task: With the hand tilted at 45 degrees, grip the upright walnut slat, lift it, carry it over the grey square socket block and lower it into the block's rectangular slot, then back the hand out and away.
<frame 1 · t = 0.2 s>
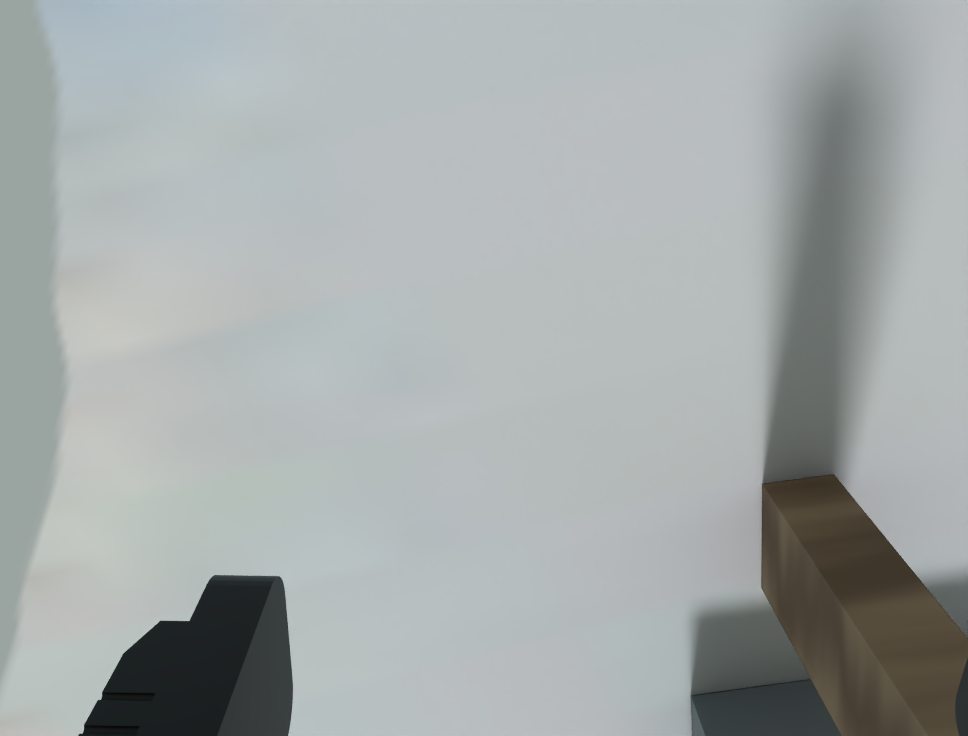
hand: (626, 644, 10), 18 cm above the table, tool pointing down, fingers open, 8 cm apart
slat: (796, 533, 31), on the table
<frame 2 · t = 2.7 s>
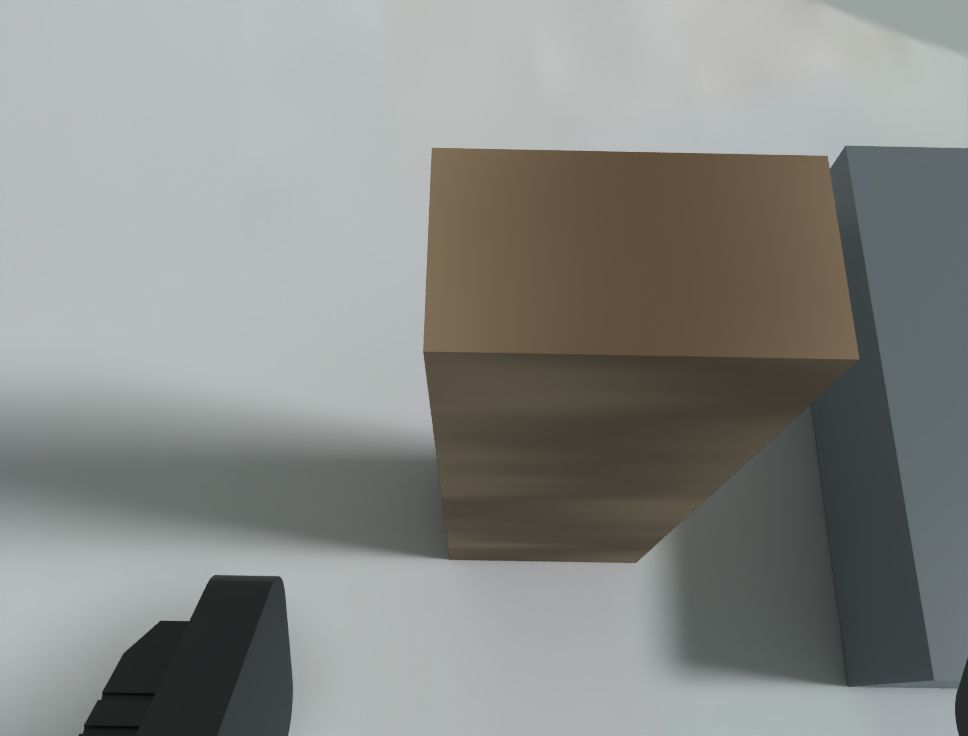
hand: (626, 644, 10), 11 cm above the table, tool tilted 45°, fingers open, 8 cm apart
slat: (542, 509, 22), on the table
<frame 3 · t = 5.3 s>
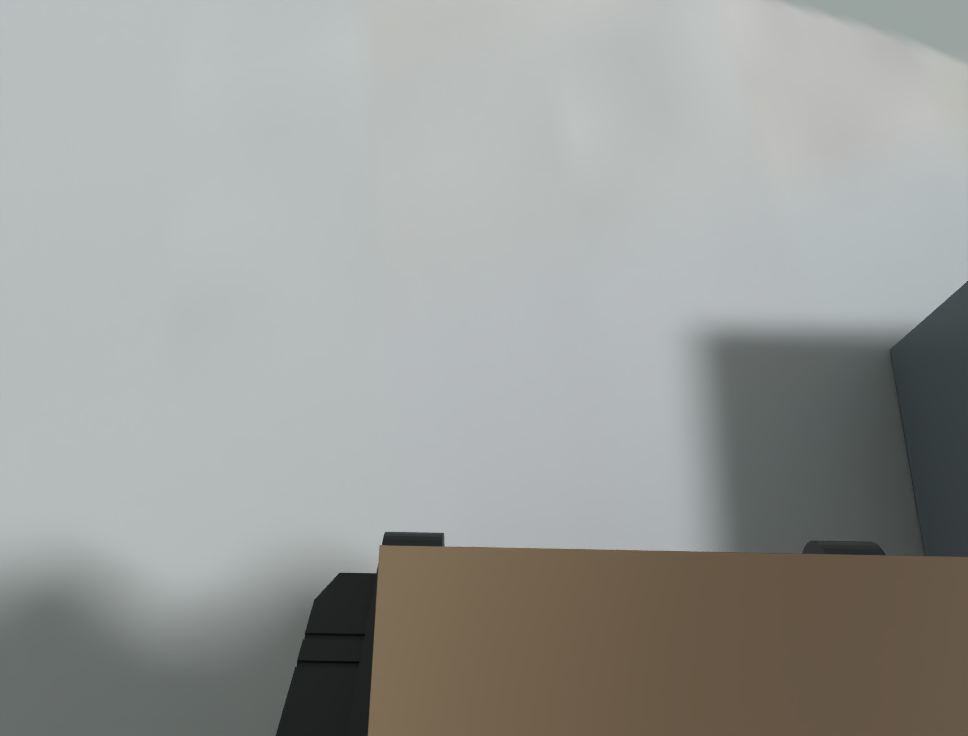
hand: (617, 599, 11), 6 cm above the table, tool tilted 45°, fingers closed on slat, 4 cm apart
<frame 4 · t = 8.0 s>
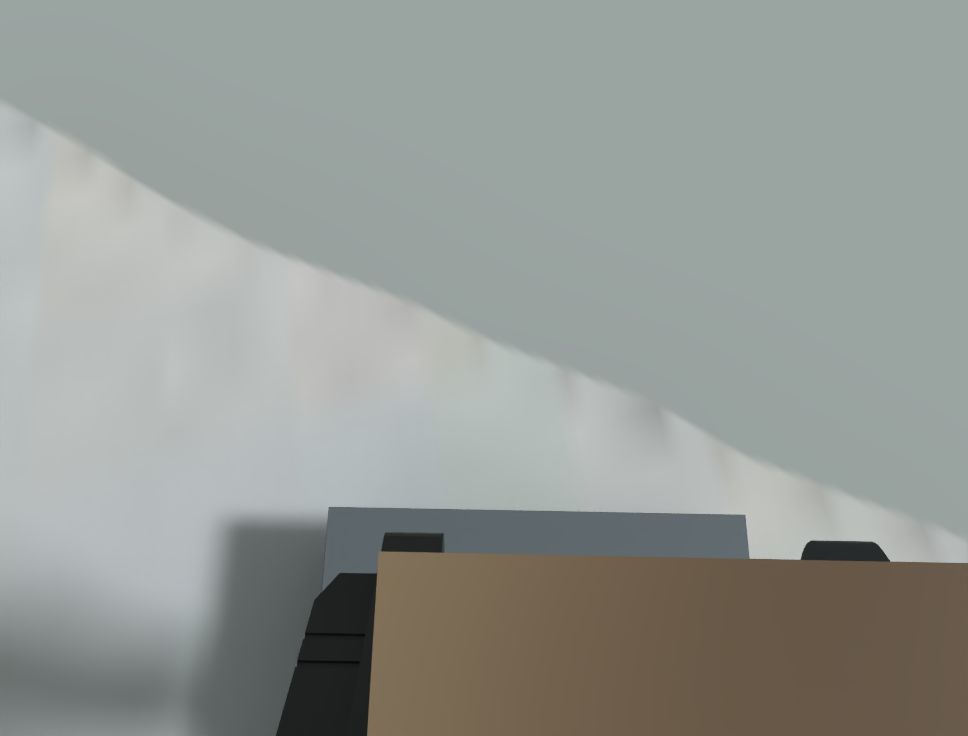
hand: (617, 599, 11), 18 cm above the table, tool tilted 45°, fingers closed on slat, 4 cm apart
grey square socket block: (529, 733, 27), on the table
when the fingers open (7 cm above the table, at t = 11.2 s): slat stays where it is, resting in grey square socket block.
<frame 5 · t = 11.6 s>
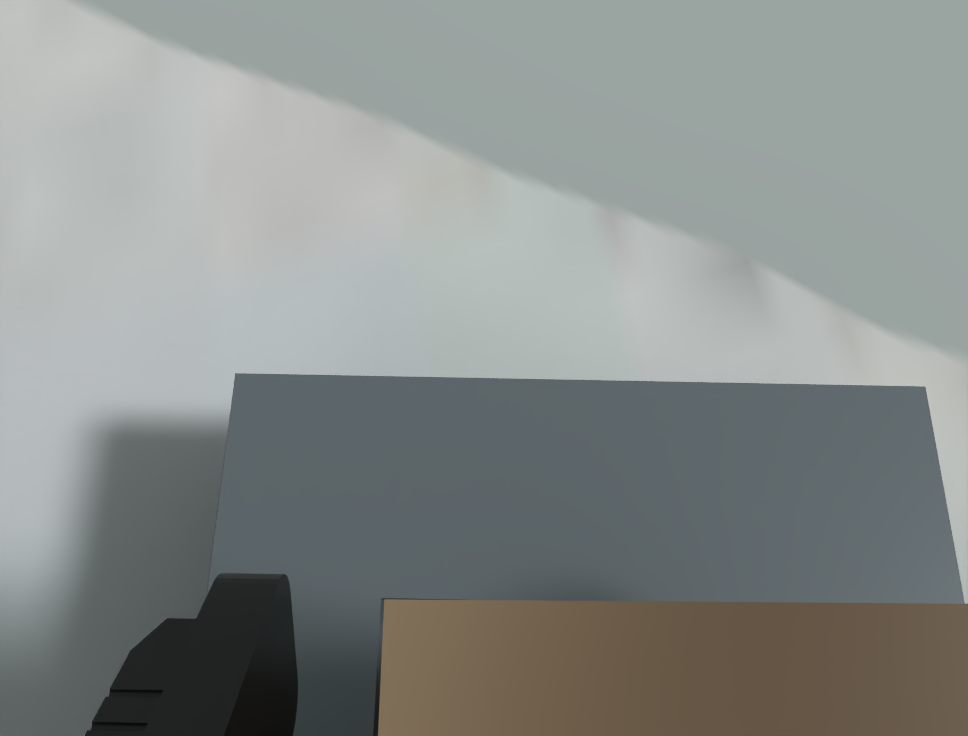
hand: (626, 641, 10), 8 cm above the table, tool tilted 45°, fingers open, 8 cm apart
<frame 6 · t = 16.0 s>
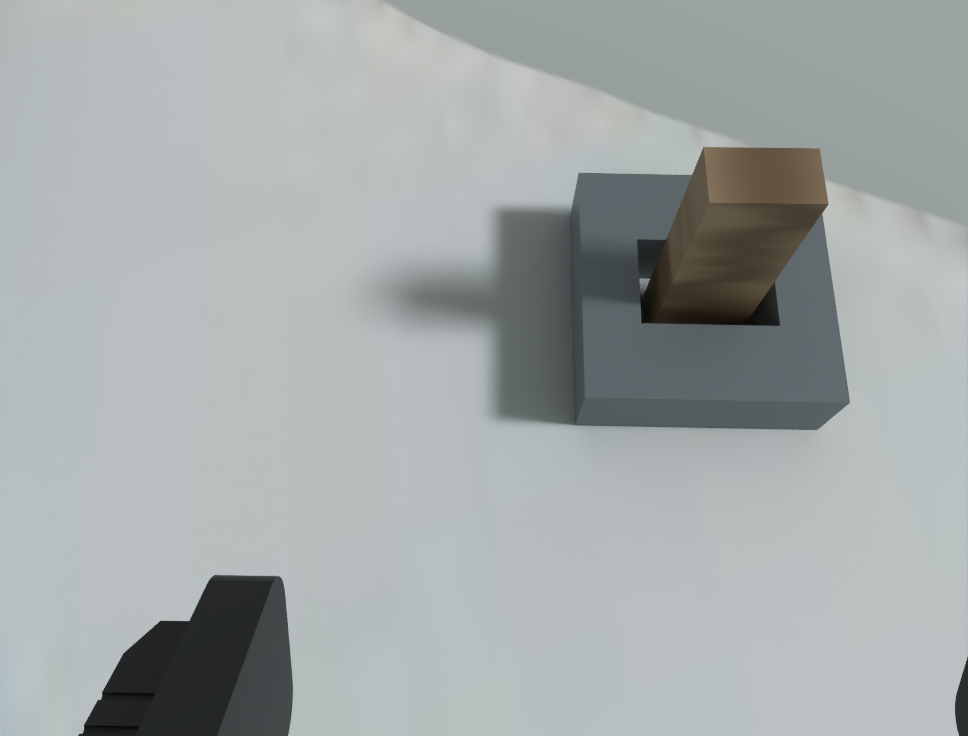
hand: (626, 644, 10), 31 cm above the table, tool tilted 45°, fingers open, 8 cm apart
slat: (687, 318, 45), resting in grey square socket block
grey square socket block: (688, 317, 46), on the table
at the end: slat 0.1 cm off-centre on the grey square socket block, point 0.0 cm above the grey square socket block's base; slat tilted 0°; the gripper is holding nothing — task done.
